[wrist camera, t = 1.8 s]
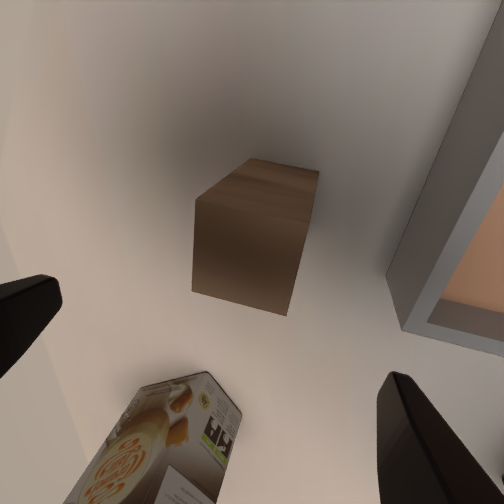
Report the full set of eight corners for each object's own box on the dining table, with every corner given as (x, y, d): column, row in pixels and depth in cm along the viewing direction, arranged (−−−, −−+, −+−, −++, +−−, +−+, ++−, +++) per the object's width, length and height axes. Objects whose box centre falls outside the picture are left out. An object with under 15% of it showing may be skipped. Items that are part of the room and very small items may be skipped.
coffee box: (206, 368, 27) (69, 664, 13) (244, 415, 28) (159, 719, 15) (137, 387, 30) (-26, 630, 17) (174, 427, 32) (55, 677, 18)
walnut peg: (303, 235, 19) (286, 316, 12) (242, 221, 19) (191, 291, 12) (319, 171, 17) (309, 224, 10) (250, 158, 17) (195, 199, 10)
